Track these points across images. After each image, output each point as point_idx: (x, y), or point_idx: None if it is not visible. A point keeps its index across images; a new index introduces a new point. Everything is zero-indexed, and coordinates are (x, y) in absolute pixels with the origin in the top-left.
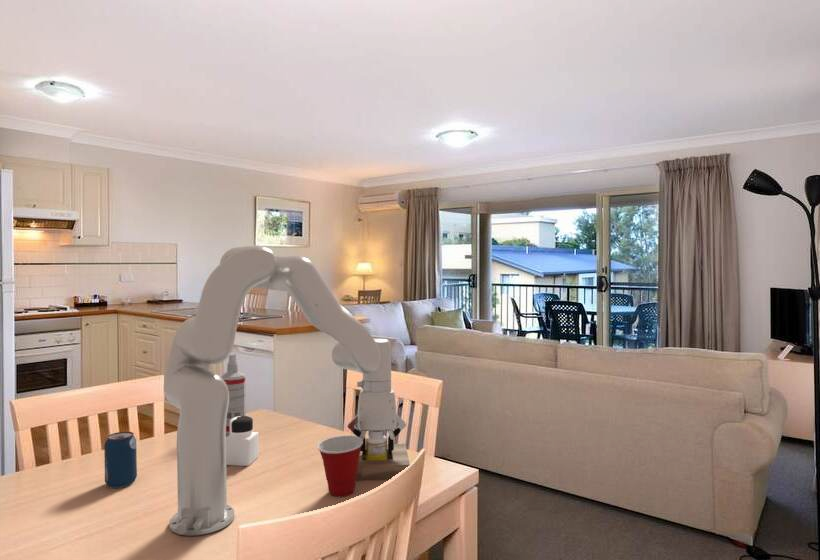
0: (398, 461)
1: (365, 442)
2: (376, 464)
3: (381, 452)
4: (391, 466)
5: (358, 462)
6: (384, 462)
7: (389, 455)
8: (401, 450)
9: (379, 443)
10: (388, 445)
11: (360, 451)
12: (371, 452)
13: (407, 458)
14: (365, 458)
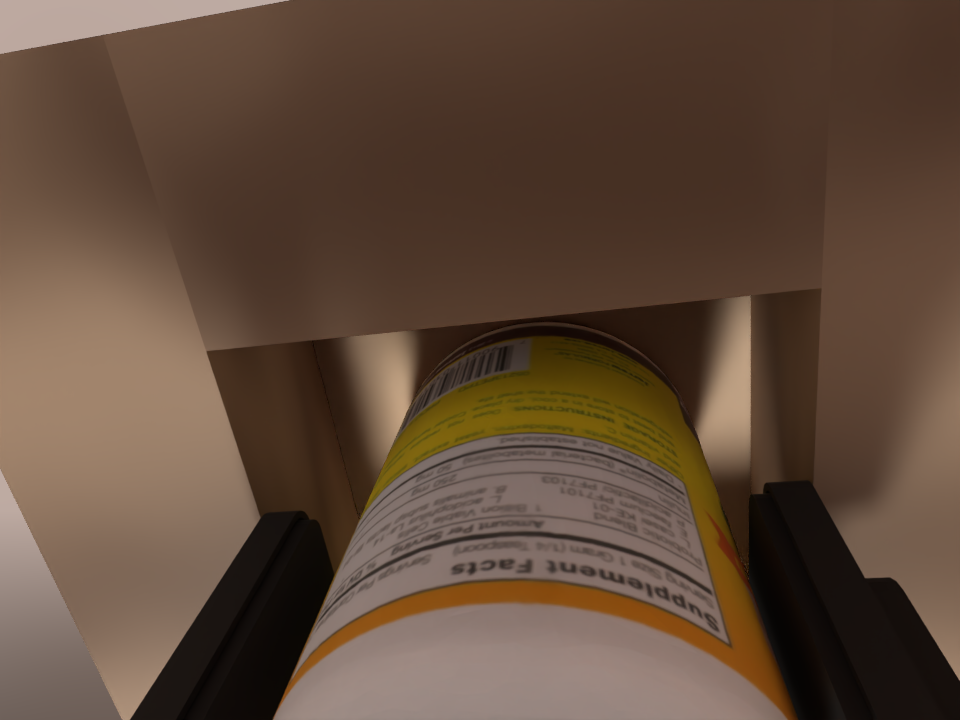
0: (81, 249)
1: (847, 709)
2: (483, 44)
3: (416, 484)
4: (169, 30)
5: (914, 153)
6: (332, 182)
7: None
8: None
9: (415, 618)
10: (246, 641)
11: None
12: (633, 475)
13: None
14: None
